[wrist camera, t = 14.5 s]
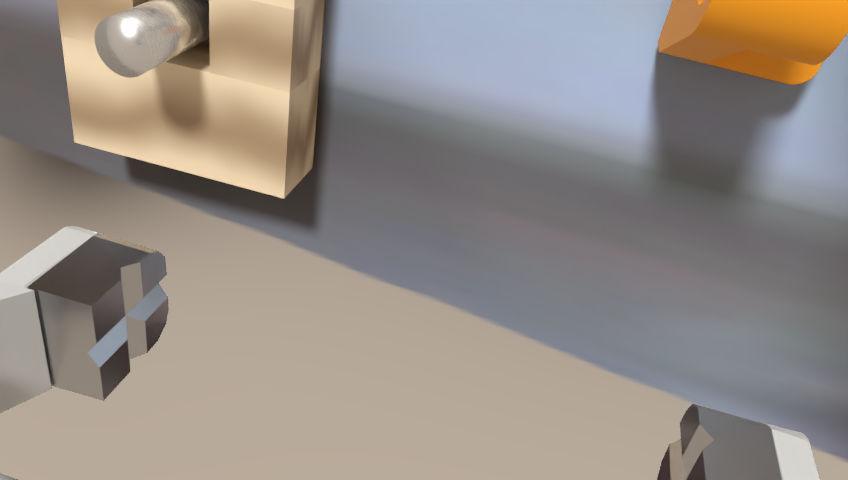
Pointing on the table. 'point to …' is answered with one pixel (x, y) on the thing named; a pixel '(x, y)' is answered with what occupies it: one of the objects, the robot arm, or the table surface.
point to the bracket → (756, 35)
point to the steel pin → (151, 34)
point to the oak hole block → (206, 93)
